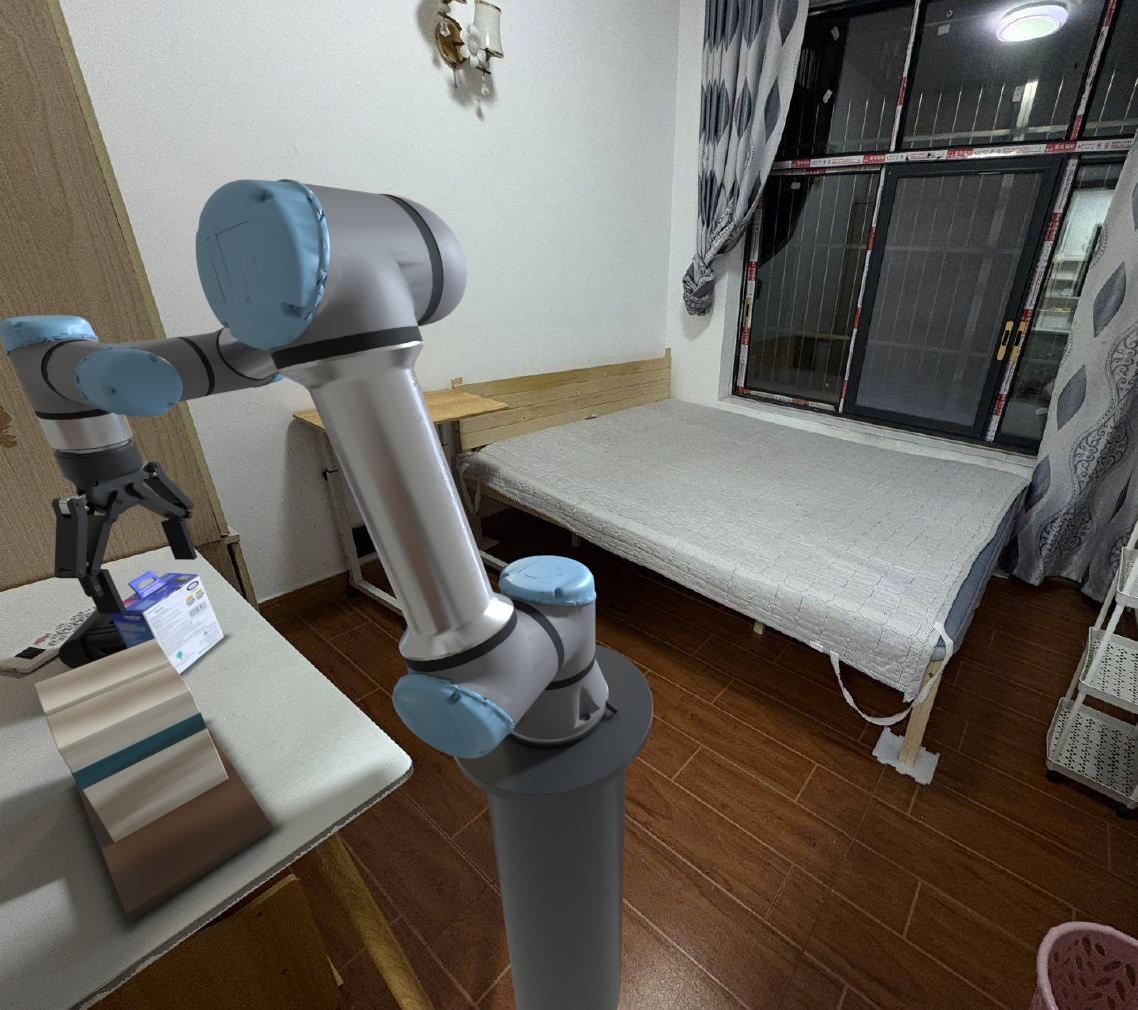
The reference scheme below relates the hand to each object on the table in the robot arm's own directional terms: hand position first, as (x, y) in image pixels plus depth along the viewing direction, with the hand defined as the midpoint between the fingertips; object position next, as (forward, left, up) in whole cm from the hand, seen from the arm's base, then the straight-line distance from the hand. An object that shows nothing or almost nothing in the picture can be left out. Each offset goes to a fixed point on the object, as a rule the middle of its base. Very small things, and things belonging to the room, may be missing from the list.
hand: (152, 583), depth 79 cm
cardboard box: (-16, +26, -13) cm, 33 cm away
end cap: (+10, -1, -14) cm, 17 cm away
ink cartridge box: (0, 0, -14) cm, 14 cm away
